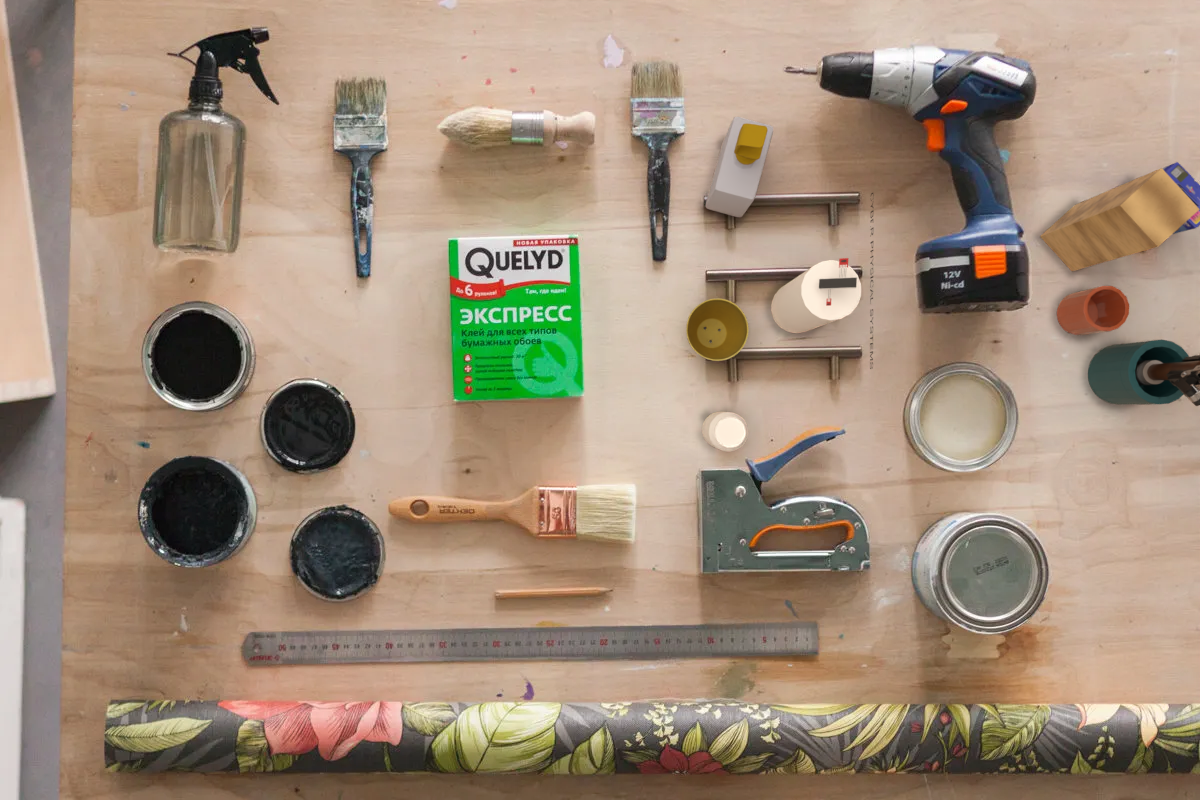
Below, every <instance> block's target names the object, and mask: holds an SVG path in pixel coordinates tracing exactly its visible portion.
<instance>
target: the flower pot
mask: <svg viewBox="0 0 1200 800" xmlns="http://www.w3.org/2000/svg"><path fill="white" fill-rule="evenodd" d="M749 327H750V325H749V321H748V318H747V316H746V314H745V312H744V310H742V308H741V307H740V306H739V305H737V304H736V303H735V302H733V301H731V300H729V299H726V298H721V297H720V298H719V297H718V298H717V297H715V298H710V299H706V300H704V301H702V302H700V303H698V304H697V305H696V306H695V307H694V308H693V309H692V311H690V314H689V316H688V318H687V321H686V326H685V334H686V339H687V341H688V344H689V345H690V347H691V348H692V350H693V351H694V352H695V353H696V354H697V355H698V356H699V357H701V358H703V359H706V360H708V361H713V362H721V361H728V360H729V359H732V358H734V357H735V356H737V355H738V354H739V353H740V352H741V351H742V350H743V348H744V347H745V346H746V343H747V342H748V338H749V335H750V334H749V333H750V331H749V329H750V328H749ZM710 341H711V342H710Z"/></svg>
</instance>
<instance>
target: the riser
mask: <svg viewBox="0 0 1200 800" xmlns="http://www.w3.org/2000/svg"><path fill="white" fill-rule="evenodd" d="M1162 168H1163V167H1161V168H1159V169H1156V170H1154V171H1151V172H1149V173H1147V174H1143V175H1142V176H1140V177H1137V178H1135V179H1132V180H1130V181H1127V182H1125V183H1123V184H1121V185H1119V186H1116V187H1113V188H1111V189H1109V190H1107V191H1104V192H1102V193H1100V194H1097V195H1095V196H1092V197H1090V198H1088V199H1086V200H1085V199H1084V200H1083V201H1080V202H1078V203H1076V204H1074V205H1073V206H1072V207H1071V208H1070V209H1069V210H1067V211H1066V212H1065V213H1064V214H1063V215H1062V216H1061V217H1060V218H1059V219H1058V220H1056V221H1055V222H1054V223H1053V224H1052V225H1051V226H1050V227H1049V228H1048V229H1047V230H1045V231H1044V232H1043V233H1042V234H1041V235H1039V238H1041V240H1043V242H1044V243H1045V244H1046V245H1047V246H1048V247H1049V248H1050V250H1052V251H1053V253H1054V254H1055V255H1056V256H1057V257H1058V258H1059V259H1060V260H1061V261H1062V263H1063V264H1064V265H1065V266H1066V267H1067V268H1068V269H1069V270H1070V271H1071V272H1075V271H1078V270H1082V269H1085V268H1088V267H1092V266H1093V267H1094V266H1096V265H1099V264H1103V263H1106V262H1111V261H1114V260H1117V259H1120V258H1124V257H1128V256H1132V255H1134V254H1139V253H1141V252H1146V251H1149V250H1152V249H1155V248H1159V247H1160V246H1161V245H1163V243H1164V242H1165V241H1166V240H1168V238H1170V237H1171V236H1173V235H1174V234H1173V233H1174V232H1175V231H1176V230H1177V229H1178V228H1180V227H1181V226H1182V225H1183V224H1184V223H1185V222H1186V221H1187V220H1188V219H1190V218H1191V217H1192V216H1193V215H1194V214H1195V213H1196V212H1197V211H1198V210H1199V208H1198V207H1197V206H1196V205H1195V204H1194V203H1193V202H1192V200H1191V199H1190V198H1189V197H1188V196H1187V195H1186V194H1185V193H1184V192H1183V191H1182V190H1181V188H1180V187H1179V186H1178V185H1177V184H1176V183H1175V182H1174V181H1173V180H1172V179H1171V178H1170V176H1169V175H1168V174H1167V173H1166V172H1165V171H1164V170H1163V169H1162Z"/></svg>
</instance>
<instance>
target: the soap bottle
mask: <svg viewBox="0 0 1200 800" xmlns="http://www.w3.org/2000/svg"><path fill="white" fill-rule="evenodd" d="M773 134H774V126H773V125H771V124H766V123H763V122H759V121H755V120H753V119H748V118H745V117H741V116H734V117H733V119H732V120H731V122H730V125H729V127H728V128H727V131H726V134H725V136H724V138H723V140H722V143H721V147H720V150H719V154H718V157H717V161H716V164H715V168H714V170H713V171H714V172H713V176H712V179H711V183H710V186H709V191H708V194H707V197H706V201H705V208H706V209H707V210H709V211H714V212H716V213H721V214H724V215H728V216H732V217H735V218H742V217H743V216H744V215H745V213H746V211H748V209H749V208H750V206H751V205H752V203H753V202H754V200H755V199H756V197H757V193H758V189H759V186H760V182H761V178H762V175H763V171H764V167H765V163H766V161H767V156H768V153H769V149H770V145H771V141H772V138H773Z"/></svg>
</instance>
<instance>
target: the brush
mask: <svg viewBox="0 0 1200 800" xmlns="http://www.w3.org/2000/svg"><path fill="white" fill-rule="evenodd" d="M1198 365H1200V361H1189V362H1176V363H1162V362H1160V361H1158V360H1143V361H1138V362H1137V364H1136V369H1135V374H1136V380H1137V382H1138V384H1139V386H1141V385H1153V384H1160V383H1162V382H1163V381H1164V380H1168V379H1167V378H1168V377H1167V376H1166V374H1167V373H1169V372H1170V371H1180V370H1192V369H1194V368H1195V367H1196V366H1198Z"/></svg>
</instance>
